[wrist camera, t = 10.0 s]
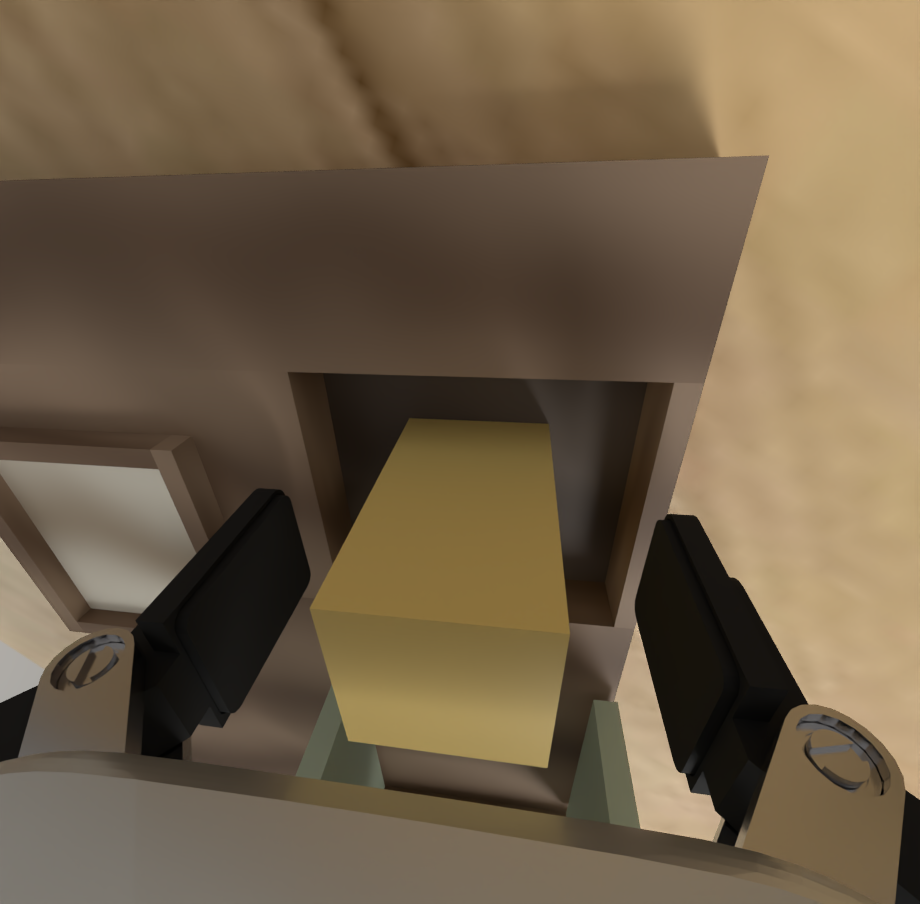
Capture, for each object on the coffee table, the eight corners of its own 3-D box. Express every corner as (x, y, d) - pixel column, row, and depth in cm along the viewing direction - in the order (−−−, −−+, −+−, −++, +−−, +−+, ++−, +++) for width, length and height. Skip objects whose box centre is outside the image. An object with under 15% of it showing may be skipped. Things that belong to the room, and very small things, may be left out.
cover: (584, 815, 19) (618, 1181, 12) (368, 783, 21) (284, 1099, 13) (622, 685, 14) (721, 1182, 7) (333, 652, 15) (165, 1048, 8)
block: (538, 533, 14) (547, 768, 8) (418, 524, 15) (348, 740, 9) (548, 423, 12) (569, 633, 6) (409, 418, 13) (309, 608, 7)
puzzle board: (575, 773, 22) (582, 855, 19) (215, 724, 24) (176, 790, 22) (722, 163, 9) (809, 148, 6) (-93, 188, 11) (-291, 186, 9)
